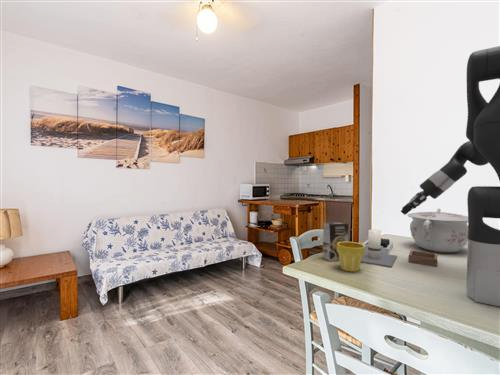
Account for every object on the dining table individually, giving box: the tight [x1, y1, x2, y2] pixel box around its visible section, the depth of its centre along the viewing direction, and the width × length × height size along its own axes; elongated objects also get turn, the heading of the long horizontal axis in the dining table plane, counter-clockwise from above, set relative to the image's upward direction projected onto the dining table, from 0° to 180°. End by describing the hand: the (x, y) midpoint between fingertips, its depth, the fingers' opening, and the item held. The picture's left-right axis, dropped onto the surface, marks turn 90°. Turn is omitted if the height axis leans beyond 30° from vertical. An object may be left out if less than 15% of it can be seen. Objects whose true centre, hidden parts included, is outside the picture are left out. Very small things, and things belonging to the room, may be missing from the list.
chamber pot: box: [406, 208, 468, 254], centre depth 134 cm, size 28×28×21 cm
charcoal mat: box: [360, 251, 398, 268], centre depth 118 cm, size 18×16×1 cm
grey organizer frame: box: [362, 239, 394, 255], centre depth 135 cm, size 16×12×2 cm
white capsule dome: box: [367, 228, 382, 259], centre depth 118 cm, size 5×5×12 cm
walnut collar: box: [408, 249, 438, 267], centre depth 114 cm, size 10×10×3 cm
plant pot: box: [337, 241, 365, 273], centre depth 105 cm, size 10×10×10 cm
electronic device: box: [381, 237, 390, 248], centre depth 133 cm, size 7×11×5 cm
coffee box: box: [322, 221, 349, 262], centre depth 118 cm, size 9×6×16 cm
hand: (403, 211), depth 111 cm, fingers open, 8 cm apart
